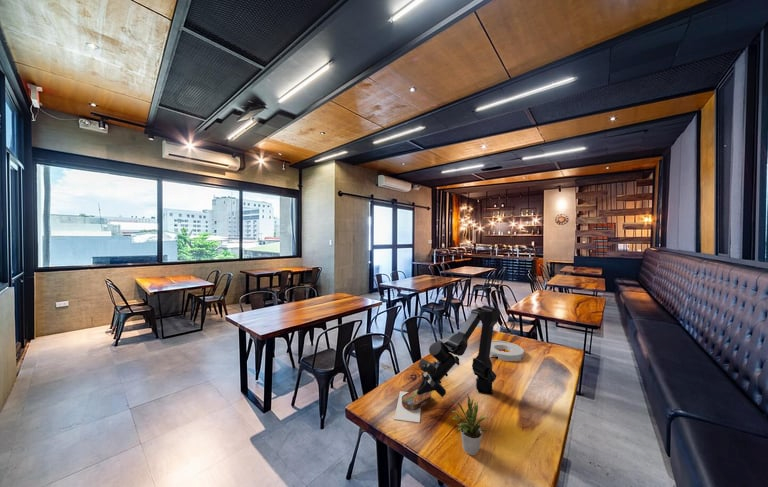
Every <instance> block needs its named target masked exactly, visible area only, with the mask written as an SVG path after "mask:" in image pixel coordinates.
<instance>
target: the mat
mask: <svg viewBox="0 0 768 487" xmlns="http://www.w3.org/2000/svg"><path fill="white" fill-rule="evenodd" d="M408 392H409V391H401V390H400V391H399V396H398V399H397V405H396V409H395V414H394V418H393V420H395V421H401V422H409V423H419V424H420V423H421V412H422V409H421V408H422V407H420V408H419V409H416V410H409V409H407V408H405V407H404V406H403V405H402V396H403V395H405V394H407V393H408Z"/></svg>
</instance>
